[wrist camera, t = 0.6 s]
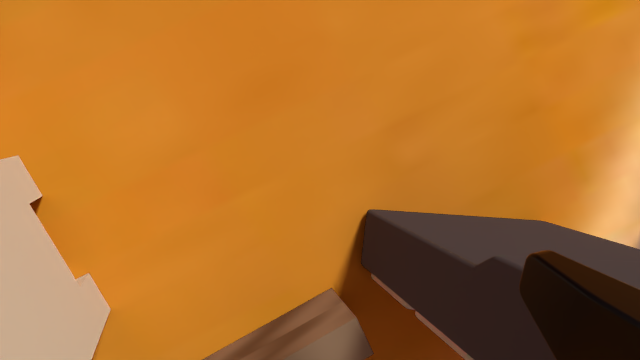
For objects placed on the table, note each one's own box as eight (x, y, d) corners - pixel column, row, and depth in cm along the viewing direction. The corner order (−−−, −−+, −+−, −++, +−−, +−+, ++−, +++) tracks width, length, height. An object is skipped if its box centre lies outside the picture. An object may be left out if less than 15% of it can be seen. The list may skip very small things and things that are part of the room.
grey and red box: (356, 277, 27) (557, 467, 12) (365, 196, 26) (584, 295, 12) (533, 282, 30) (862, 440, 15) (544, 210, 29) (894, 301, 15)
